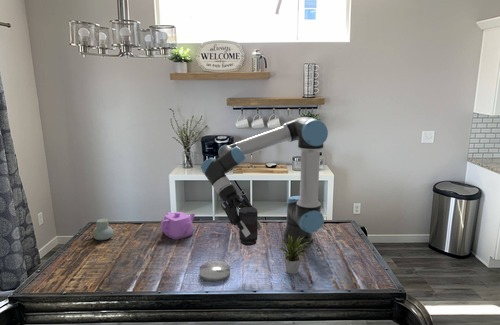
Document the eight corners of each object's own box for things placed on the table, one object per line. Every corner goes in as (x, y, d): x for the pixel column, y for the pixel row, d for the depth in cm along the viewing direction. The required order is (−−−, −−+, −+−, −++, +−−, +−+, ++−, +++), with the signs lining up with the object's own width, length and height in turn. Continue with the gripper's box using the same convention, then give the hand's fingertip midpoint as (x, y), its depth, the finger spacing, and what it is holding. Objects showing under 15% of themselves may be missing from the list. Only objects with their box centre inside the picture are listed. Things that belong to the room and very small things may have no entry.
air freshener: (115, 239, 199) (114, 221, 197) (99, 243, 193) (98, 225, 191) (107, 233, 207) (105, 215, 204) (91, 237, 201) (90, 219, 199)
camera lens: (236, 240, 165) (235, 207, 162) (253, 237, 168) (253, 205, 164) (242, 247, 157) (242, 213, 154) (260, 244, 160) (260, 211, 157)
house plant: (301, 284, 155) (302, 247, 151) (270, 275, 161) (271, 240, 158) (313, 269, 167) (314, 234, 163) (284, 262, 173) (285, 228, 170)
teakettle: (166, 227, 214) (165, 207, 212) (196, 228, 214) (195, 207, 211) (158, 240, 198) (157, 217, 195) (190, 240, 197) (189, 218, 194)
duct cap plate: (232, 268, 168) (232, 261, 167) (226, 283, 155) (226, 276, 154) (203, 266, 169) (203, 260, 169) (196, 281, 157) (195, 274, 156)
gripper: (235, 188, 176) (263, 228, 170) (204, 199, 160) (234, 244, 153) (244, 179, 172) (273, 220, 165) (213, 189, 155) (244, 235, 149)
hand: (254, 232), depth 159 cm, fingers closed on camera lens, 8 cm apart
